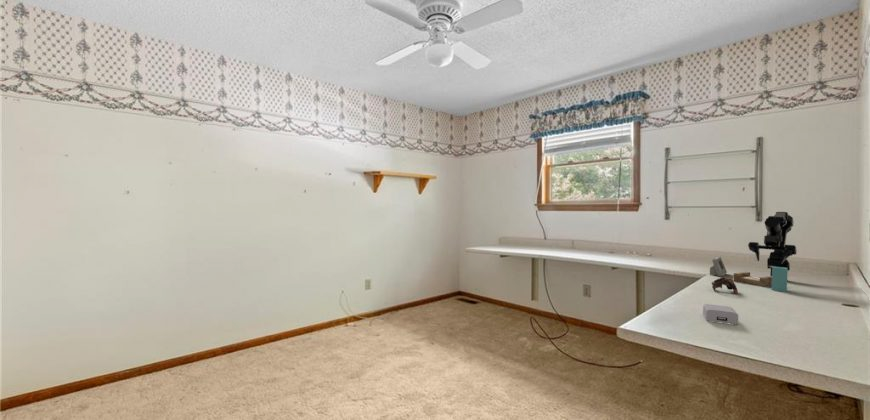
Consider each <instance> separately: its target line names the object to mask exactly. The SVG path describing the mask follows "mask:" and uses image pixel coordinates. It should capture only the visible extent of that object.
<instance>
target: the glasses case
mask: <svg viewBox="0 0 870 420" xmlns="http://www.w3.org/2000/svg"><path fill="white" fill-rule="evenodd" d="M771 267H772V286H771V291H777V292H783V293H788V281H787V280H788V271H789V270H788V269H787V268H785V267H775V266H771Z"/></svg>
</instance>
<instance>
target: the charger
mask: <svg viewBox="0 0 870 420" xmlns="http://www.w3.org/2000/svg"><path fill="white" fill-rule="evenodd" d="M702 309H703V310H702V314H703V316H704V319H705V320H706V321H707V320H708V321H707V322H709V321H714V322H713V323H716V322H722V323H721V324H723V323H730V324H738V325H739V314H738V313H737V311H736V309H734V308H733V307H731V306H729V305H727V306H726V305H720V304H719V305H718V304H712V303H704V304H703V306H702ZM730 324H729V325H730Z"/></svg>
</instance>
